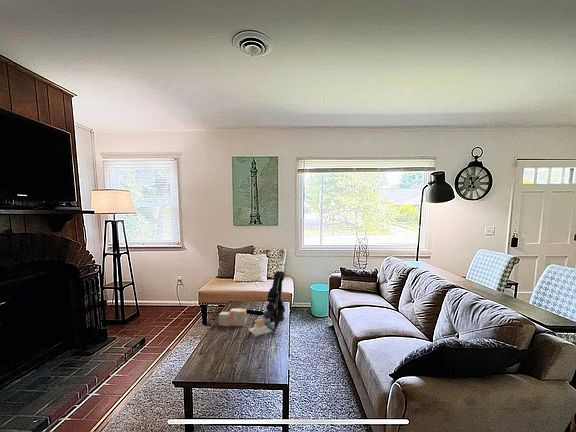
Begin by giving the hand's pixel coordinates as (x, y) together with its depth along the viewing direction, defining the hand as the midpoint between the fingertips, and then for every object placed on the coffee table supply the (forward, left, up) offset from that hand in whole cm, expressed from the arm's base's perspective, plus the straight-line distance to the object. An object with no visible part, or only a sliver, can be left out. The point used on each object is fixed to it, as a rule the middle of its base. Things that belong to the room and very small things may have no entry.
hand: (274, 326), depth 213 cm
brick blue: (0, 0, -1) cm, 1 cm away
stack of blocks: (+24, -24, -1) cm, 34 cm away
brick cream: (+11, -2, 0) cm, 11 cm away
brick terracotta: (+11, -2, +3) cm, 12 cm away
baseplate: (+11, -2, -1) cm, 11 cm away
